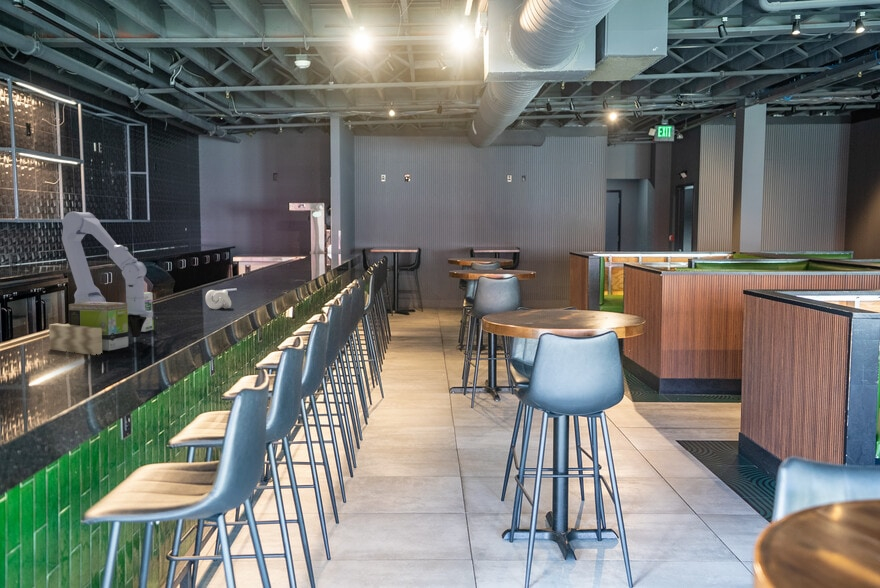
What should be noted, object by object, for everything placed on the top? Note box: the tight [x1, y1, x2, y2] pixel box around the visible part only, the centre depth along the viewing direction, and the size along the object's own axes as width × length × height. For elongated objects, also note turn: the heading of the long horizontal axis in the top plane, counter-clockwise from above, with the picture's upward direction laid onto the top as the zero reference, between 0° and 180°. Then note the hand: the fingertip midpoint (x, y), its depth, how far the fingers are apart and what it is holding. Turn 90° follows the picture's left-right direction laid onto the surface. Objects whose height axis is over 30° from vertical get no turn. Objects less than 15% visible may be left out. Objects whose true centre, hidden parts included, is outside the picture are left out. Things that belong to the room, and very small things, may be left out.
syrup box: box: [141, 291, 155, 333], centre depth 274 cm, size 6×6×14 cm
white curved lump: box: [204, 289, 232, 310], centre depth 347 cm, size 11×12×9 cm
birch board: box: [48, 323, 103, 356], centre depth 227 cm, size 20×3×8 cm, turn 65°
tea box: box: [68, 301, 129, 351], centre depth 235 cm, size 15×10×15 cm, turn 76°
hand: (136, 336), depth 249 cm, fingers closed
